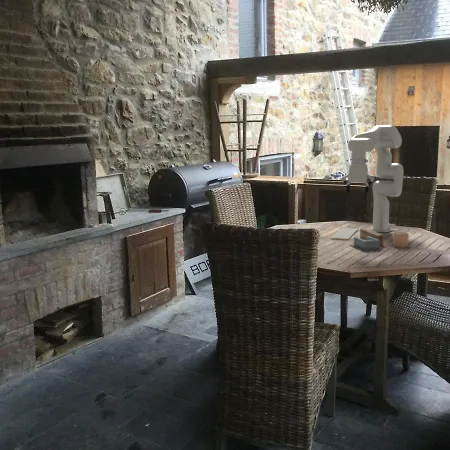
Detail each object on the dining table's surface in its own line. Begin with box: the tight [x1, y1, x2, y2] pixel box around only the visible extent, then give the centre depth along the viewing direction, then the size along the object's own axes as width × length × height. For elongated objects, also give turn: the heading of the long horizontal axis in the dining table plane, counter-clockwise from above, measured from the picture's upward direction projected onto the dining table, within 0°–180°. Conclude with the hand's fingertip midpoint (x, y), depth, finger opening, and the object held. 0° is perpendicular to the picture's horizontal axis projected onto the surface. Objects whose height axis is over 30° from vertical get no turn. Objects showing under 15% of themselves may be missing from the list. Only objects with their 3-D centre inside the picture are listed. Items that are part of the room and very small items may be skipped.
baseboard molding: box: [330, 225, 359, 241], centre depth 318 cm, size 31×3×12 cm
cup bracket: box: [349, 236, 384, 252], centre depth 283 cm, size 12×14×5 cm
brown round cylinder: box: [392, 231, 410, 249], centre depth 284 cm, size 8×8×7 cm
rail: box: [359, 228, 384, 247], centre depth 297 cm, size 4×20×6 cm, turn 12°
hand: (357, 192), depth 287 cm, fingers open, 9 cm apart
